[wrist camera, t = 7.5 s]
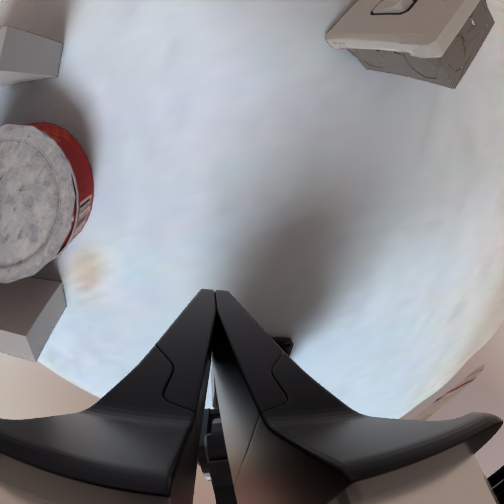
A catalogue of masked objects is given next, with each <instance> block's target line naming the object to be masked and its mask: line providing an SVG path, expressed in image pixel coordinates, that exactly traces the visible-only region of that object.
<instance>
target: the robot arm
mask: <svg viewBox="0 0 504 504" xmlns="http://www.w3.org/2000/svg"><path fill="white" fill-rule="evenodd" d="M287 343H288V344H287ZM292 347H293V341H292V339H290V338H271V337H270V336H269V335H268V334H267V333H266V332H265V331H264V329H263V328H262V327H261V326H260V325H259V324H258V323H257V322H256V321H255V320H254V319H253V318H252V317H251V315H250V314H249V313H248V312H247V311H246V310H245V309H244V308H243V307H242V306H241V304H240V303H239V302H238V301H237V300H236V299H235V298H234V297H233V296H232V295H231V293H230V292H229V291H223V290H216V291H215V292H214V290H209V289H201V290H200V291H199V292H198V293H197V295H196V296H195V297H194V298H193V299H192V301H191V302H190V303H189V304H188V305H187V307H186V308H185V309H184V310H183V312H182V313H181V314H180V315H179V316H178V318H177V319H176V320H175V321H174V322H173V324H172V325H171V326H170V327H169V329H168V330H167V331H166V332H165V333H164V335H163V336H162V337H161V338H160V340H159V341H158V342H157V343H156V344H155V346H154V347H153V348H152V349H151V350H150V352H149V353H148V354H147V355H146V356H145V357H144V359H143V360H142V361H141V362H140V363H139V364H138V365H137V366H136V367H135V368H134V369H133V370H132V371H131V372H130V373H129V374H128V375H127V376H126V377H125V378H123V379H122V380H121V381H120V382H119V383H118V384H117V385H116V386H115V387H114V388H112V389H111V390H110V391H109V392H108V393H107V394H106V395H105V396H104V397H102V398H101V399H100V400H99V401H98V402H97V403H95V404H94V405H93V406H91V407H90V408H88V409H86V410H84V411H81V412H78V413H72V414H66V415H59V416H51V417H43V418H34V419H24V420H8V419H0V504H193V495H194V485H195V477H196V469H197V464H198V465H199V466H201V469H202V472H203V474H204V476H205V478H206V479H207V480H208V481H212V485H213V489H214V493H215V498H216V504H504V466H502V467H501V468H500V469H499V470H497V471H496V472H495V473H494V474H492V475H491V476H490V477H489V478H487V477H486V475H485V473H484V472H483V469H482V468H481V466H480V464H479V462H478V460H477V459H476V457H475V455H474V454H475V453H476V452H477V451H478V450H479V449H480V448H481V447H482V446H483V445H485V443H487V442H488V441H489V440H490V439H491V438H492V437H493V435H494V434H496V432H497V431H498V430H499V429H500V427H501V426H502V424H503V420H501V419H500V418H499V417H497V416H495V415H492V414H487V413H477V412H473V413H469V414H467V415H464V416H462V417H459V418H456V419H451V420H442V421H421V420H403V419H389V418H379V417H370V416H366V415H363V414H360V413H358V412H356V411H354V410H352V409H351V408H350V407H348V406H347V405H345V404H344V403H343V402H342V401H340V400H339V399H338V398H336V397H335V396H334V395H333V394H331V393H330V392H329V391H328V390H326V389H325V388H324V387H322V386H321V385H320V384H319V383H317V382H316V381H315V380H314V379H313V378H312V377H310V376H309V375H308V374H307V373H306V372H305V371H303V370H302V369H301V368H300V367H299V366H298V365H297V364H296V363H295V362H294V361H293V360H292V359H291V358H290V357H289V356H290V353H291V350H292ZM211 356H212V372H211V381H212V405H213V407H214V408H215V409H210V408H209V409H204V408H205V401H206V393H207V386H208V379H209V372H210V365H211Z"/></svg>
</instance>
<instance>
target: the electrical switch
mask: <svg viewBox="0 0 504 504" xmlns="http://www.w3.org/2000/svg"><path fill="white" fill-rule="evenodd" d="M471 18H472V19H473V21H474V23H475V25H473V24H472V20H471ZM494 23H495V22H494V20H493V18H492V16H491V13H490V11H489V9H488V7H487V3H486V0H358V1H357V2H356V3H355V4H354V5H353V6H352V7H351V8H350V9H349V10H348V11H347V12H346V13H345V15H344V16H343V17H342V18H341V19H340V20H339V21H338V22H337V23H336V24H335V25H334V26H333V27H332V29H331V30H330V31H329V32H328V33H327V34H326V36H325V40H326V41H327V42H328V43H329V44H330V46H331V47H332V48H335V49H344V48H347V49H348V50H349V51H350V53H352V54H353V55H354V56H356V57H357V58H358V60H359V61H360V62H361V63H362V64H363V66H364V67H365V68H366V69H370V70H376V71H381V72H387V73H392V74H397V75H402V76H406V77H411V78H415V79H419V80H423V81H427V82H431V83H434V84H438V85H442V86H445V87H448V88H452V87H453V88H454V89H455V88H456V86H457V85H458V83H459V82H460V80H461V78H462V77H463V75H464V74H465V72H466V71H467V69H468V67H469V66H470V64H471V62H472V61H473V59H474V57H475V56H476V54H477V52H478V51H479V49H480V47H481V46H482V44H483V42H484V41H485V39H486V37H487V35H488V34H489V32H490V30H491V28H492V26H493V25H494ZM487 24H488V25H487ZM481 30H482V31H481ZM381 55H382V56H383V57H384V58H383V57H382V56H381ZM384 59H385V60H384ZM461 67H463V68H461ZM448 78H449V79H448ZM449 80H450V81H449ZM450 82H451V83H450ZM451 84H452V86H451ZM453 88H452V89H453Z"/></svg>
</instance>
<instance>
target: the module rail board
mask: <svg viewBox="0 0 504 504" xmlns="http://www.w3.org/2000/svg"><path fill="white" fill-rule="evenodd" d="M62 49H63V44H62V43H59V42H56V41H54V40H51V39H48V38H45V37H42V36H39V35H36V34H33V33H30V32H27V31H23V30H20V29H17V28H13V27H10V26H6V27H3V28H0V87H2V86H7V85H12V84H17V83H22V82H27V81H33V80H40V79H46V78H54V77H58V71H59V65H60V59H61V54H62ZM66 307H67V306H66V301H65V296H64V291H63V285H62V282H59V281H52V280H45V279H38V278H32V277H26V278H22V279H19V280H16V281H13V282H10V283H0V352H2V353H6V354H8V355H12V356H15V357H18V358H22V359H26V360H29V361H33V362H37V360H38V358H39V356H40V354H41V352H42V350H43V348H44V346H45V344H46V342H47V340H48V338H49V337H50V335H51V333H52V331H53V329H54V328H55V326H56V324H57V322H58V320H59V319H60V317H61V315H62V314H63V312H64V310H65V308H66Z"/></svg>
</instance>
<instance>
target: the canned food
mask: <svg viewBox="0 0 504 504" xmlns="http://www.w3.org/2000/svg"><path fill="white" fill-rule="evenodd" d="M93 197H94V183H93V177H92V170H91V167H90V164H89V161H88V158H87V156H86V154H85V152H84V150H83V149H82V147H81V145H80V144H79V143H78V141H77V140H76V139H75V138H74V137H73V136H72V135H71V134H70V133H69V132H67V131H66V130H65V129H63V128H61V127H59V126H57V125H55V124H50V123H45V122H42V123H33V124H27V125H15V124H5V125H2V126H0V283H10V282H13V281H16V280H19V279H22V278H26V277H29V276H33V275H35V274H36V273H37V272H38V271H39V270H40V269H42V268H43V267H44V266H45V265H46V264H47V263H49V262H50V261H51V260H53V259H54V258H56V257H57V256H59V255H60V254H61V253H62V252H63V251H64V249H65V248H66V247H67V246H68V244H69V243H70V242H71V241H72V240H73V239H74V238H75V237H76V236H77V235H78V234H79V233H80V231H81V230H82V229H83V227H84V225H85V224H86V222H87V220H88V217H89V215H90V212H91V209H92V203H93Z"/></svg>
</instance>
